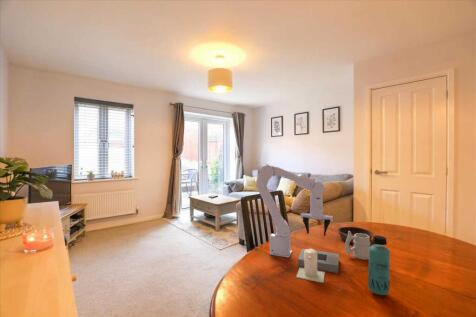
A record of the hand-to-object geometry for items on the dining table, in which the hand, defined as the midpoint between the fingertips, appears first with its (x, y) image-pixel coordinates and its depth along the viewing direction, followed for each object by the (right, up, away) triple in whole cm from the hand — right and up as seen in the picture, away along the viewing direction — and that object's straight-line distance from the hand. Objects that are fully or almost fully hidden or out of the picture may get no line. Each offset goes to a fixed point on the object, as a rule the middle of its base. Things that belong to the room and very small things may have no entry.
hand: (316, 234), depth 116 cm
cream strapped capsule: (-9, -10, -20) cm, 23 cm away
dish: (+27, -9, +18) cm, 34 cm away
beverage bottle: (+11, -11, -33) cm, 36 cm away
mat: (-9, -10, -20) cm, 24 cm away
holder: (-2, -10, -10) cm, 14 cm away
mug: (+18, -10, -3) cm, 21 cm away
